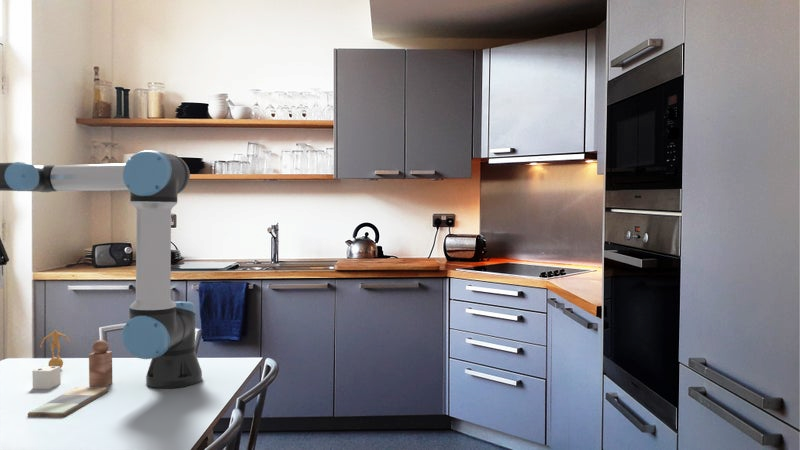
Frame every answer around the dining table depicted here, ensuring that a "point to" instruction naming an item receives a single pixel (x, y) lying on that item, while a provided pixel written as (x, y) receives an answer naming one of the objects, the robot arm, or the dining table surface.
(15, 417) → the dining table surface
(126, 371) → the dining table surface
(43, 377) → the die
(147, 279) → the robot arm
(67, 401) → the board
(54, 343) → the figurine
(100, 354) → the pawn
